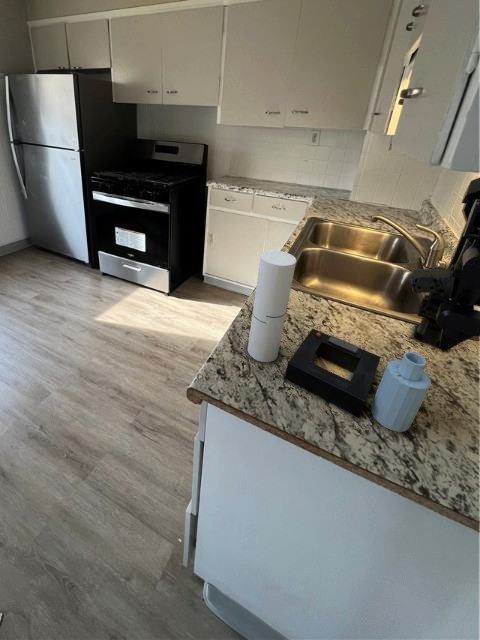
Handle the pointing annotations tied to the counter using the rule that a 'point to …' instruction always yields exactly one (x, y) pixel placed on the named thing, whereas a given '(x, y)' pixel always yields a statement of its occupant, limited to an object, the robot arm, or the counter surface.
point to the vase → (401, 392)
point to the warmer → (328, 383)
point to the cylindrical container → (270, 304)
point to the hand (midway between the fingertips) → (443, 337)
